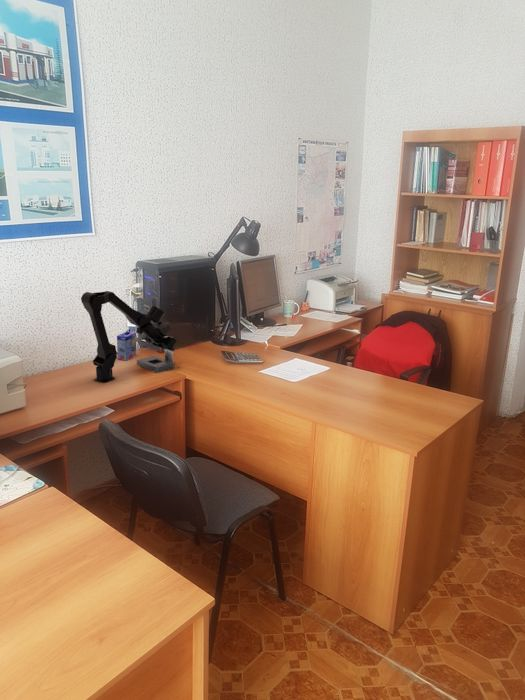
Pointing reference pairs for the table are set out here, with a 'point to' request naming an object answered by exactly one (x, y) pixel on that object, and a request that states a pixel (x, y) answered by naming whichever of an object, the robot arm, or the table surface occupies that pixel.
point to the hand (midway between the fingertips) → (171, 349)
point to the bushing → (168, 354)
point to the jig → (155, 364)
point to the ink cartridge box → (126, 345)
